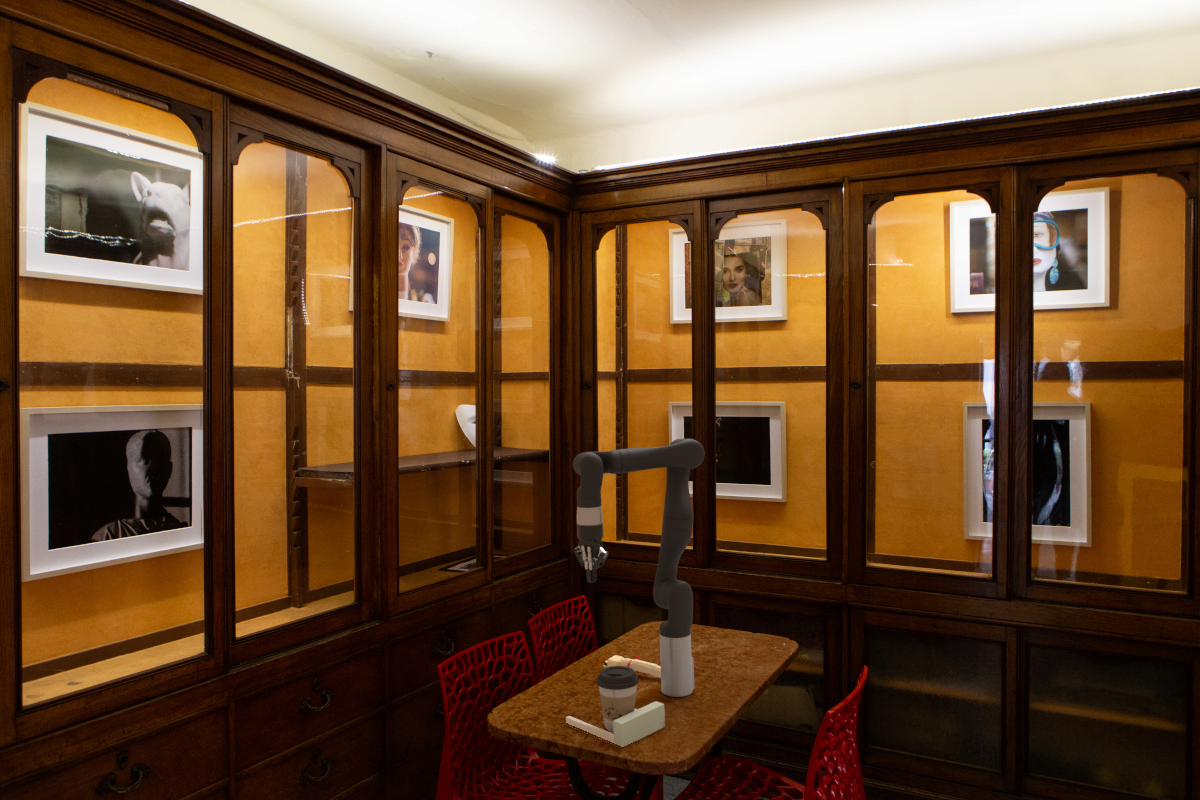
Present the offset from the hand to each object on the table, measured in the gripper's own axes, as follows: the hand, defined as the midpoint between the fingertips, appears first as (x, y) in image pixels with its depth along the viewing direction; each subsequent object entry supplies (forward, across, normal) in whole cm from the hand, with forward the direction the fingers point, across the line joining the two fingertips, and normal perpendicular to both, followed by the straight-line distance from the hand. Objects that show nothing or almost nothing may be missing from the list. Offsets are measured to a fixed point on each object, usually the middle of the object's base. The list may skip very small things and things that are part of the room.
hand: (591, 582), depth 218 cm
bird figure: (+36, +5, -24) cm, 43 cm away
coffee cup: (+35, -16, +8) cm, 40 cm away
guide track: (+35, -14, +7) cm, 39 cm away
